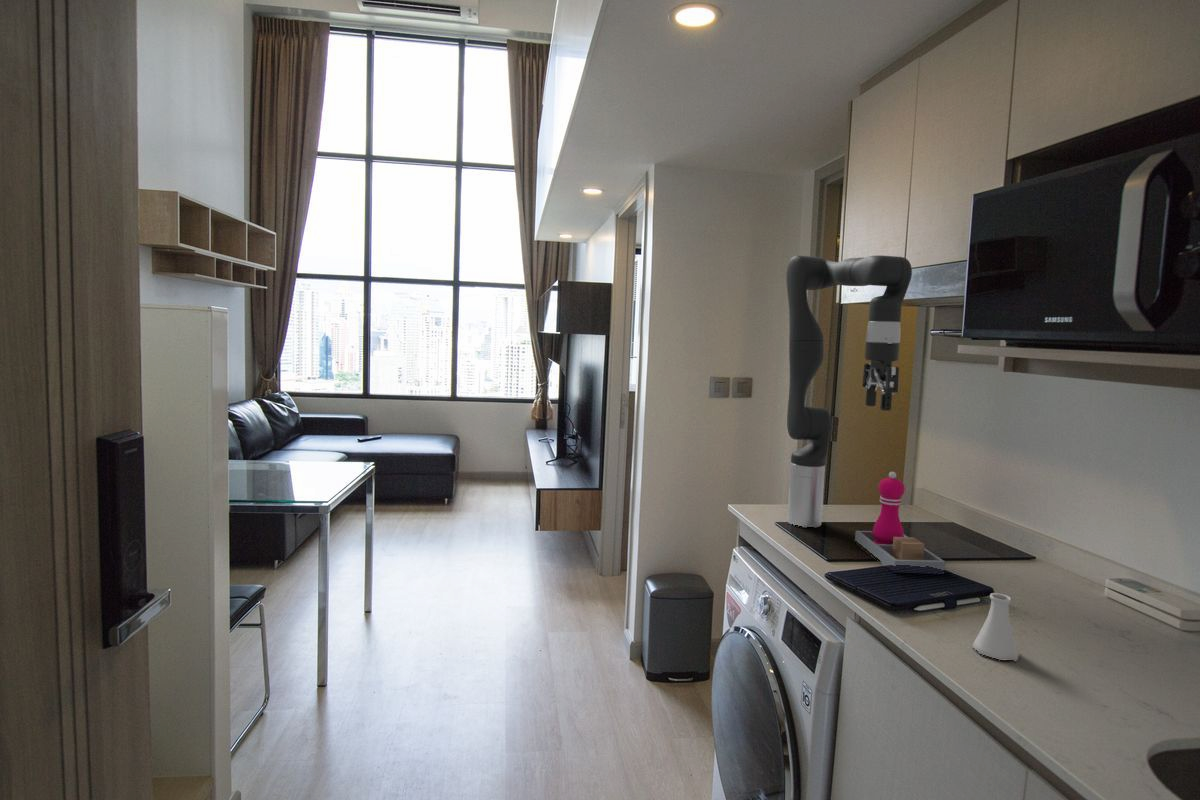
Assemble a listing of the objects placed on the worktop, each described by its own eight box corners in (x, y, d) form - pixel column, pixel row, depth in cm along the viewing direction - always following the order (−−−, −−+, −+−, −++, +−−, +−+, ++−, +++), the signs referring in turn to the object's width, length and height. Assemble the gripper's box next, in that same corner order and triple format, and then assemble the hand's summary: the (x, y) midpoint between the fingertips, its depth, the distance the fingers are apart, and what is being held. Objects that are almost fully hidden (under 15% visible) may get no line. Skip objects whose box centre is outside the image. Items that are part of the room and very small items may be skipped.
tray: (854, 541, 174) (855, 530, 174) (898, 542, 174) (899, 531, 174) (893, 573, 152) (894, 560, 152) (944, 574, 152) (945, 561, 152)
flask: (1024, 666, 111) (1030, 608, 110) (975, 657, 113) (980, 600, 112) (1014, 647, 118) (1020, 592, 116) (968, 639, 120) (973, 585, 119)
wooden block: (891, 561, 160) (893, 536, 160) (912, 561, 160) (914, 537, 160) (900, 568, 155) (903, 543, 155) (922, 569, 156) (924, 544, 155)
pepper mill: (872, 552, 166) (878, 473, 164) (870, 543, 173) (875, 467, 171) (904, 556, 164) (910, 476, 162) (900, 547, 171) (906, 470, 169)
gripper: (855, 339, 167) (850, 404, 169) (880, 341, 153) (874, 411, 155) (885, 340, 168) (880, 405, 169) (912, 342, 153) (907, 412, 155)
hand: (877, 408), depth 162 cm, fingers open, 8 cm apart
